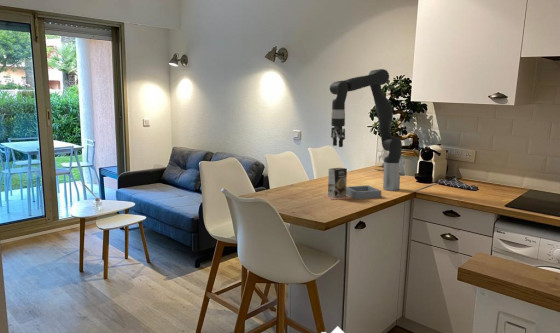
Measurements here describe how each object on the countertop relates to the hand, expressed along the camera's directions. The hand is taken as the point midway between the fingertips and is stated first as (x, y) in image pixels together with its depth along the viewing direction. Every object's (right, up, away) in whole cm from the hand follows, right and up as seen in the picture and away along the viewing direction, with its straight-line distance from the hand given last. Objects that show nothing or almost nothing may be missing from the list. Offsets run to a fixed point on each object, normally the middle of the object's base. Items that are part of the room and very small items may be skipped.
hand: (337, 146), depth 237 cm
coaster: (0, -29, +4) cm, 30 cm away
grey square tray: (+16, -29, +9) cm, 34 cm away
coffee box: (0, -29, +4) cm, 29 cm away
